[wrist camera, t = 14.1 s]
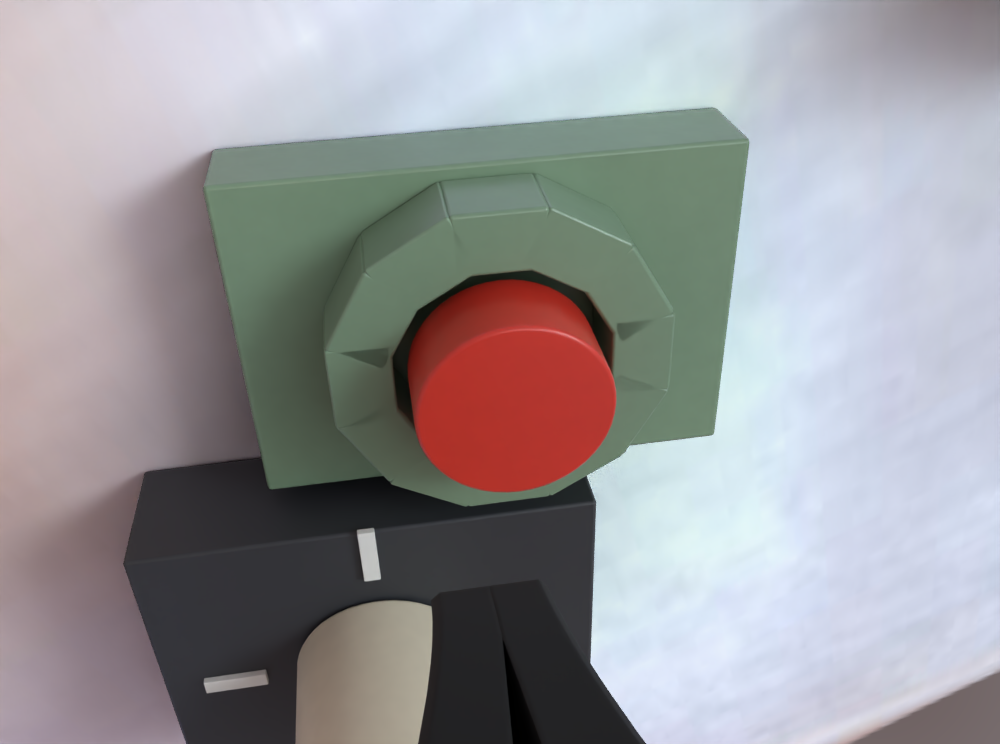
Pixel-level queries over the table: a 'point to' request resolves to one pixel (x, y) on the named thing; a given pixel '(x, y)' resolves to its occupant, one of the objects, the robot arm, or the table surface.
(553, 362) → the button
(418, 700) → the knob
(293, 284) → the button housing
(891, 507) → the table surface
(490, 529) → the control panel
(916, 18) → the table surface
